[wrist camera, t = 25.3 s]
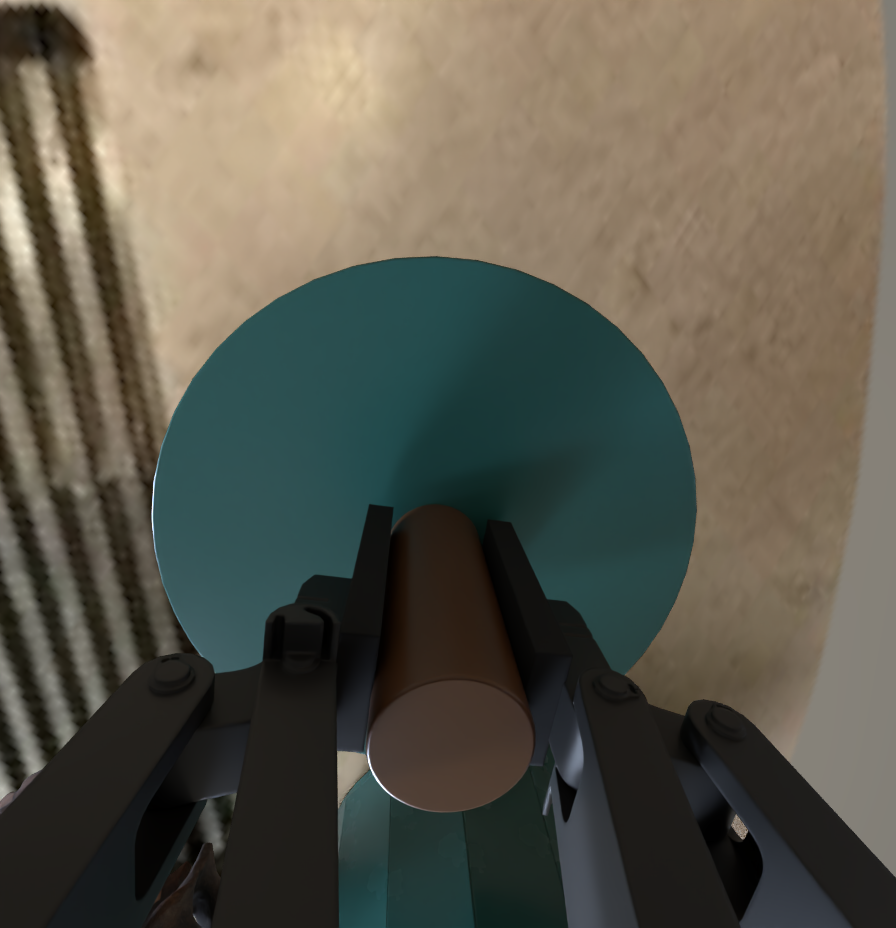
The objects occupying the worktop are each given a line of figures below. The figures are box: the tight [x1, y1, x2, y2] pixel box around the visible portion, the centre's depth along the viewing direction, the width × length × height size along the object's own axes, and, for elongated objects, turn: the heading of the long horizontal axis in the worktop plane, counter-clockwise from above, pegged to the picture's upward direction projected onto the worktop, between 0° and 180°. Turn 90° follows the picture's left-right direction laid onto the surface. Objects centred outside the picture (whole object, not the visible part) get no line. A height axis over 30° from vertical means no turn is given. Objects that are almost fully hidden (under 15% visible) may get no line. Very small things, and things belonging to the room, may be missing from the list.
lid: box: [152, 256, 697, 812], centre depth 13 cm, size 18×18×9 cm
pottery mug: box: [0, 770, 221, 928], centre depth 23 cm, size 12×10×8 cm
